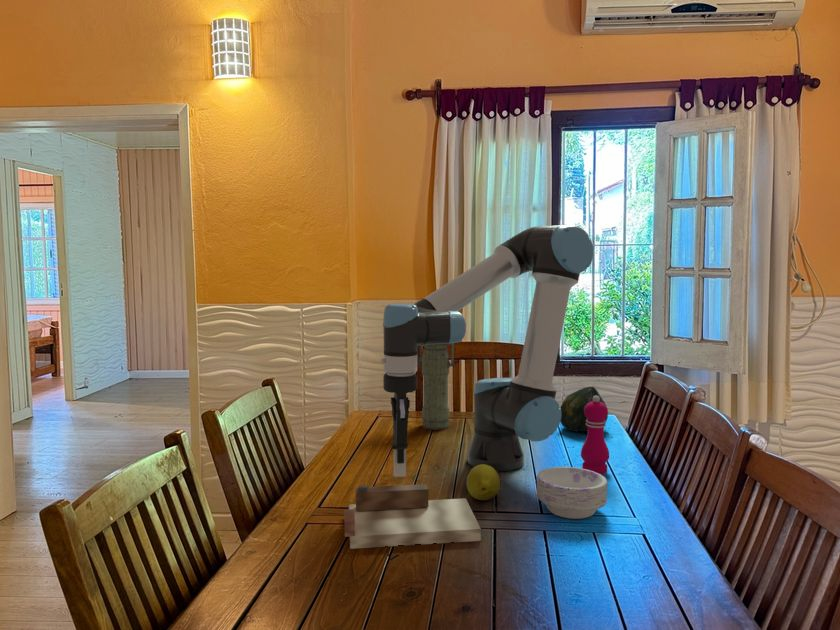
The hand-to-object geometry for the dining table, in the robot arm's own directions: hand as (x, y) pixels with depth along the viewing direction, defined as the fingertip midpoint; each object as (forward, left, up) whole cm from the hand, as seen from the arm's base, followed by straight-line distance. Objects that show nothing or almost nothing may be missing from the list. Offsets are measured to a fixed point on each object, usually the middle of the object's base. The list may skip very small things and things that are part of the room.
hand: (399, 475), depth 149 cm
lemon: (-19, 0, -7) cm, 21 cm away
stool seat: (-1, +13, -7) cm, 14 cm away
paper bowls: (-37, +9, -7) cm, 39 cm away
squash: (-63, -52, -7) cm, 83 cm away
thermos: (-17, -63, -7) cm, 66 cm away
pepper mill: (-52, -15, -7) cm, 55 cm away
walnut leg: (+2, +8, -4) cm, 9 cm away
